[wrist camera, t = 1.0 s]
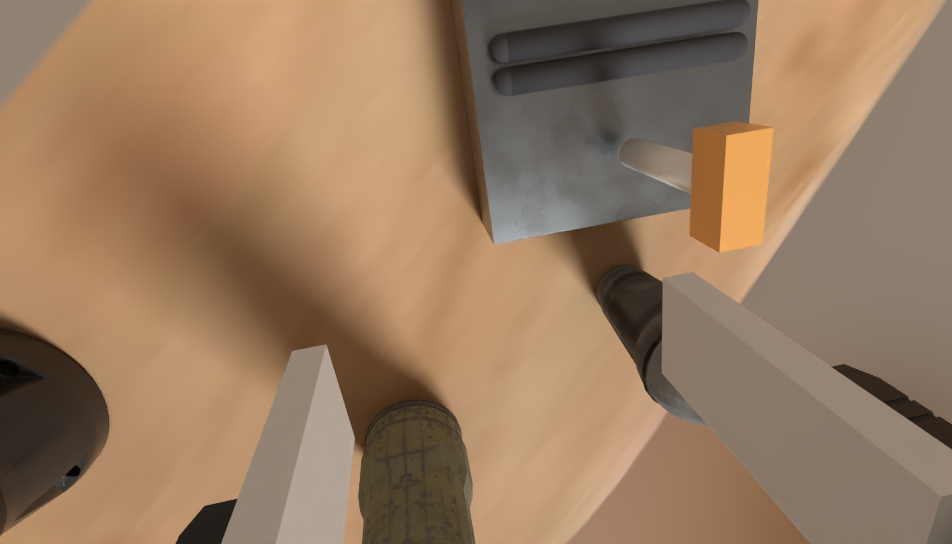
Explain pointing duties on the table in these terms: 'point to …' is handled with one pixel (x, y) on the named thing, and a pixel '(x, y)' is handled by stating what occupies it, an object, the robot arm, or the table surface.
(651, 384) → the beverage cup
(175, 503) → the table surface
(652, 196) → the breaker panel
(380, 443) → the thermos
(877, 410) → the robot arm
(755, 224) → the orange mallet
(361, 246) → the table surface
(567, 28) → the cord bundle
